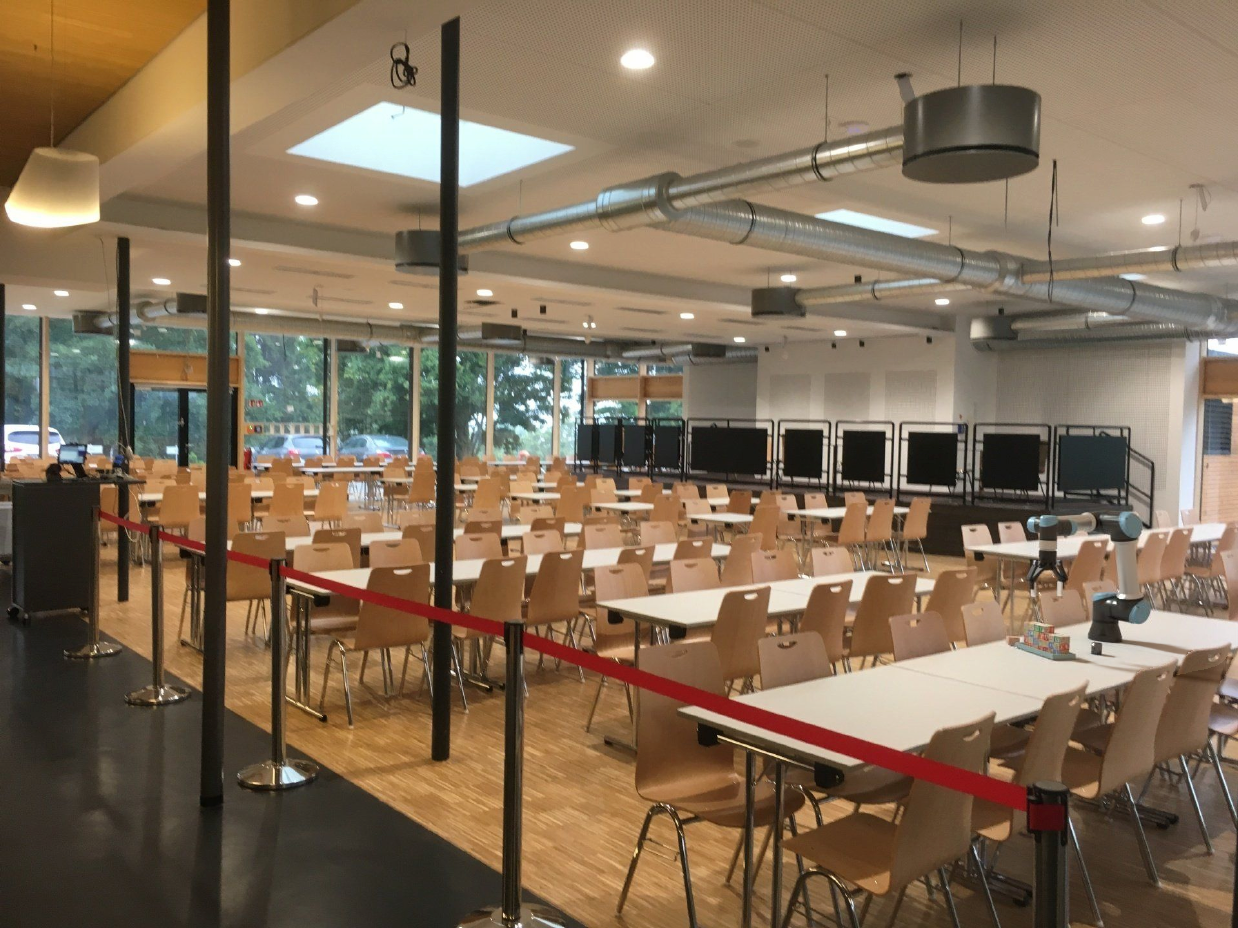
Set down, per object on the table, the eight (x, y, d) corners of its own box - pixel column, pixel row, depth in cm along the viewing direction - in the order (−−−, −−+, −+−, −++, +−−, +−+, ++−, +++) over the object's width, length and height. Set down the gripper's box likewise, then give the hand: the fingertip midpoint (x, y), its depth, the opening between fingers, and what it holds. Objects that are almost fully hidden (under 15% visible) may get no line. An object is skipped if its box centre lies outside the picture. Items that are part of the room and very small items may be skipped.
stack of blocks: (1069, 657, 434) (1070, 629, 434) (1058, 657, 432) (1059, 630, 432) (1033, 647, 454) (1034, 620, 454) (1022, 647, 452) (1023, 621, 452)
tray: (1036, 647, 458) (1037, 641, 458) (1075, 659, 432) (1075, 653, 432) (1014, 647, 455) (1015, 642, 455) (1052, 660, 429) (1052, 654, 429)
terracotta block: (1017, 644, 463) (1017, 636, 463) (1019, 646, 459) (1019, 637, 459) (1006, 644, 464) (1006, 635, 464) (1008, 645, 460) (1008, 637, 460)
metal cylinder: (1098, 652, 447) (1099, 642, 447) (1103, 655, 443) (1104, 644, 443) (1089, 652, 447) (1089, 641, 447) (1093, 654, 443) (1094, 644, 443)
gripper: (1066, 548, 449) (1065, 594, 450) (1018, 548, 444) (1017, 595, 444) (1077, 550, 442) (1076, 597, 442) (1028, 550, 436) (1027, 598, 437)
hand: (1046, 596), depth 443 cm, fingers open, 13 cm apart
